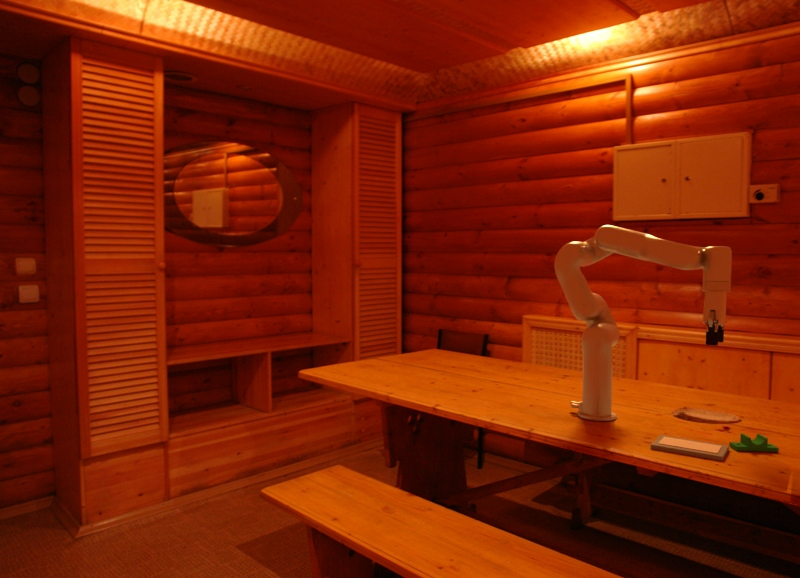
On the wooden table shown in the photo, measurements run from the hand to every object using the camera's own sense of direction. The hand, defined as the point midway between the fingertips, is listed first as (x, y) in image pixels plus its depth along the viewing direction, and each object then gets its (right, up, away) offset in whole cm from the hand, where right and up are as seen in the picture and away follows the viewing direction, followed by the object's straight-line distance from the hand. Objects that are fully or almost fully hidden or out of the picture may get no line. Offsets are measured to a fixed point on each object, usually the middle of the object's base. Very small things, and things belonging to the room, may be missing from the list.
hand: (714, 343), depth 183 cm
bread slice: (+7, -28, +19) cm, 34 cm away
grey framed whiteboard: (-14, -29, -14) cm, 35 cm away
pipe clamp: (+3, -26, -9) cm, 27 cm away
